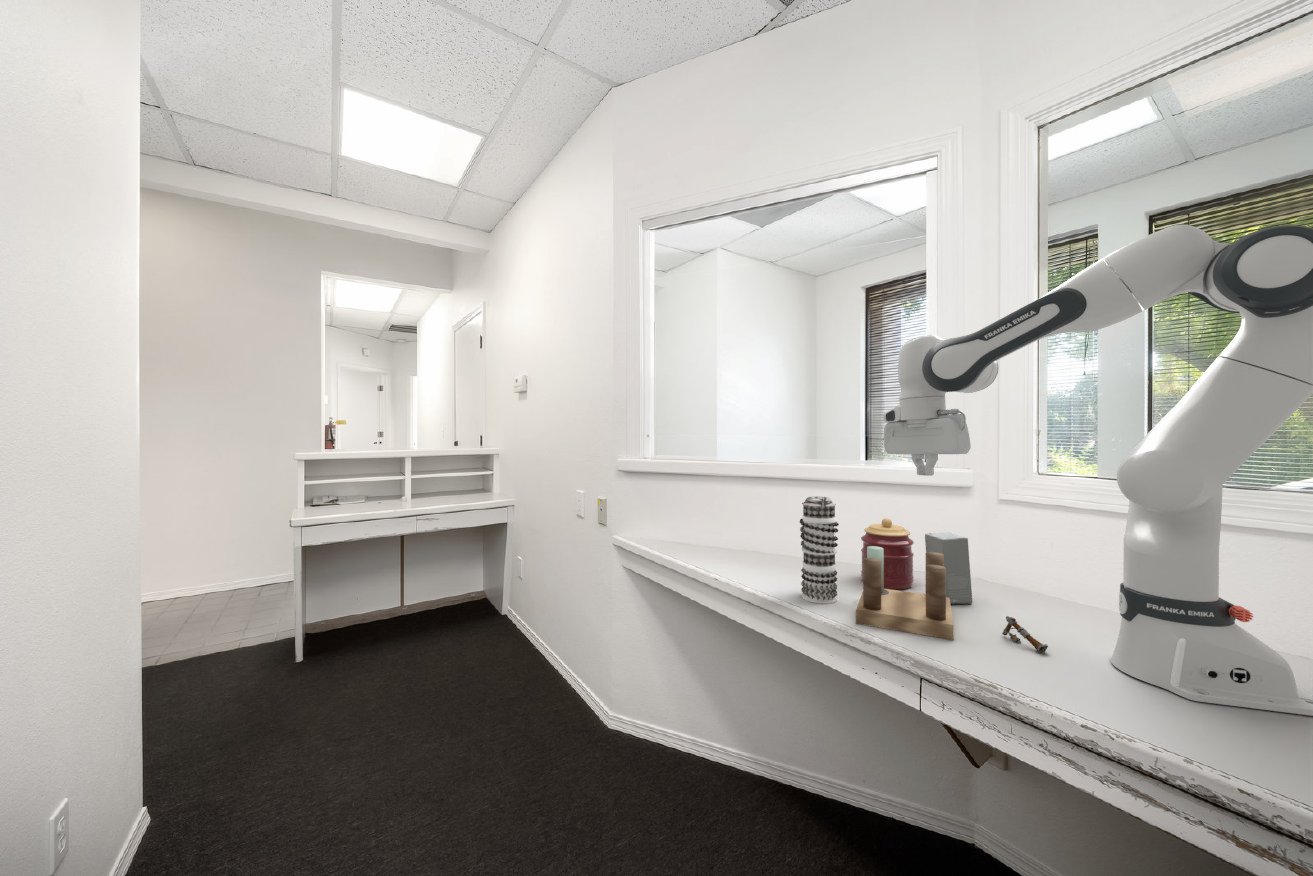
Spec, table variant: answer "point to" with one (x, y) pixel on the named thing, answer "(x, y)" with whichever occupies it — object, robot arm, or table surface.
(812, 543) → the decorative candle
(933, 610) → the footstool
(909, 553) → the canister
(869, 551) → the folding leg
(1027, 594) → the table surface
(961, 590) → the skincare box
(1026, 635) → the wooden post with brackets
